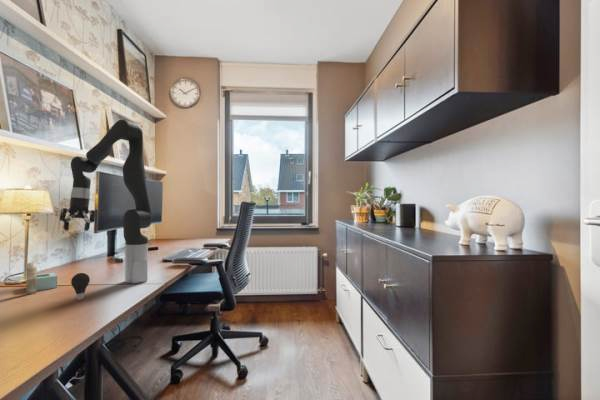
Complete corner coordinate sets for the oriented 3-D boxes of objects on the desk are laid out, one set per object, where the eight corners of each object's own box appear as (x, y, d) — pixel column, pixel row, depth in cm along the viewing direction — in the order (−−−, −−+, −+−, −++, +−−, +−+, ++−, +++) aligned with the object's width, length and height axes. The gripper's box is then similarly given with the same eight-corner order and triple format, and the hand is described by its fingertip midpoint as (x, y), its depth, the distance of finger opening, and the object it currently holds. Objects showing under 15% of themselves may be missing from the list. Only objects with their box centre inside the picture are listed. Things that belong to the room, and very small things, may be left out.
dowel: (36, 293, 120) (37, 263, 120) (26, 295, 118) (27, 264, 118) (35, 292, 122) (36, 262, 122) (25, 293, 120) (26, 263, 120)
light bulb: (92, 299, 114) (92, 272, 114) (75, 303, 109) (75, 275, 109) (85, 296, 116) (85, 270, 117) (67, 300, 112) (68, 273, 112)
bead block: (57, 287, 129) (57, 275, 129) (28, 291, 122) (29, 279, 122) (54, 283, 135) (54, 272, 135) (26, 287, 128) (27, 275, 128)
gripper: (67, 195, 141) (63, 230, 139) (99, 199, 153) (96, 231, 152) (59, 196, 145) (55, 230, 143) (91, 199, 157) (88, 230, 155)
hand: (76, 230), depth 147 cm, fingers open, 8 cm apart
